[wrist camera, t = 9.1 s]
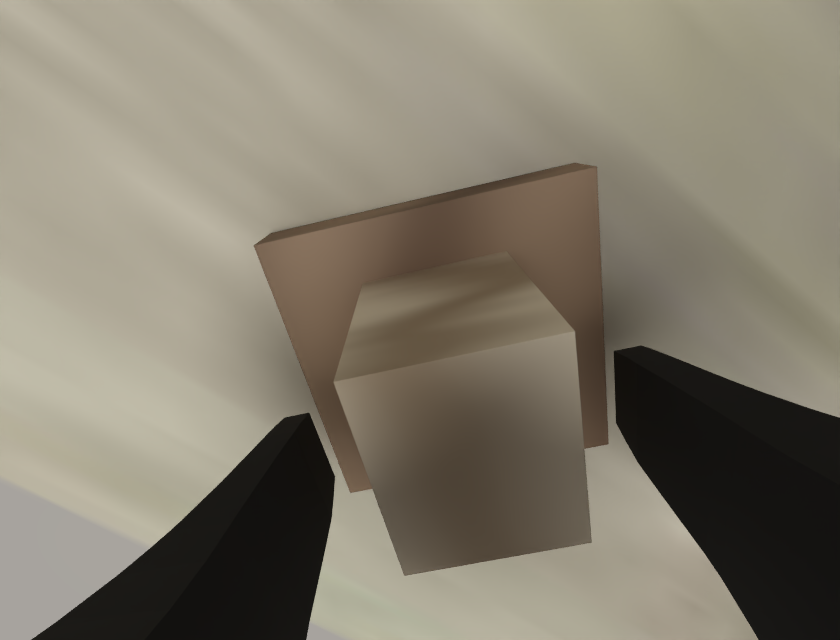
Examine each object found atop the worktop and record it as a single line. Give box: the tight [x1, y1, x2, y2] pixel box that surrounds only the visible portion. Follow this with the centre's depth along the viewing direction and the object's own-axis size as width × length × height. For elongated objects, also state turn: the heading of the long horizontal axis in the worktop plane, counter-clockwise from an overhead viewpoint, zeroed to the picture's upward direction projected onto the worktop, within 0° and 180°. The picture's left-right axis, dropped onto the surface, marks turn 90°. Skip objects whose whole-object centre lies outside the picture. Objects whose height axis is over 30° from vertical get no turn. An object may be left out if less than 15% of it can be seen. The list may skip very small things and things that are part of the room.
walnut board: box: [254, 163, 608, 493], centre depth 13 cm, size 9×9×2 cm
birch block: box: [334, 251, 592, 576], centre depth 10 cm, size 4×5×5 cm
